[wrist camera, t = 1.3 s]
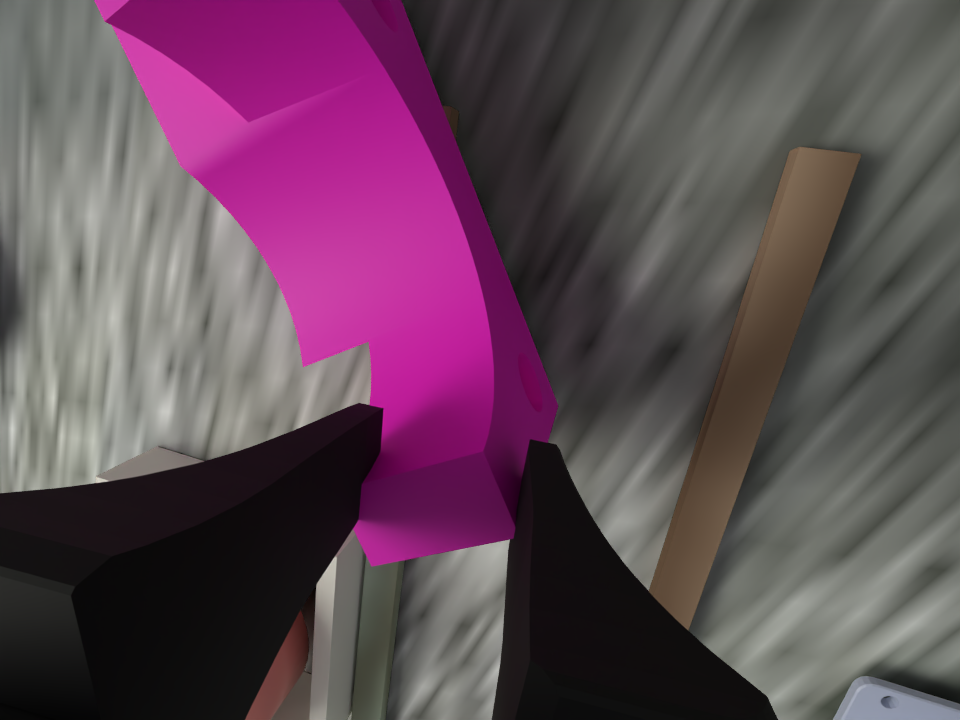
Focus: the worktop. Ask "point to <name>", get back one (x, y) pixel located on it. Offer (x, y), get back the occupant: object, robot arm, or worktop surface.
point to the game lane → (727, 423)
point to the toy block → (360, 239)
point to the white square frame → (329, 690)
